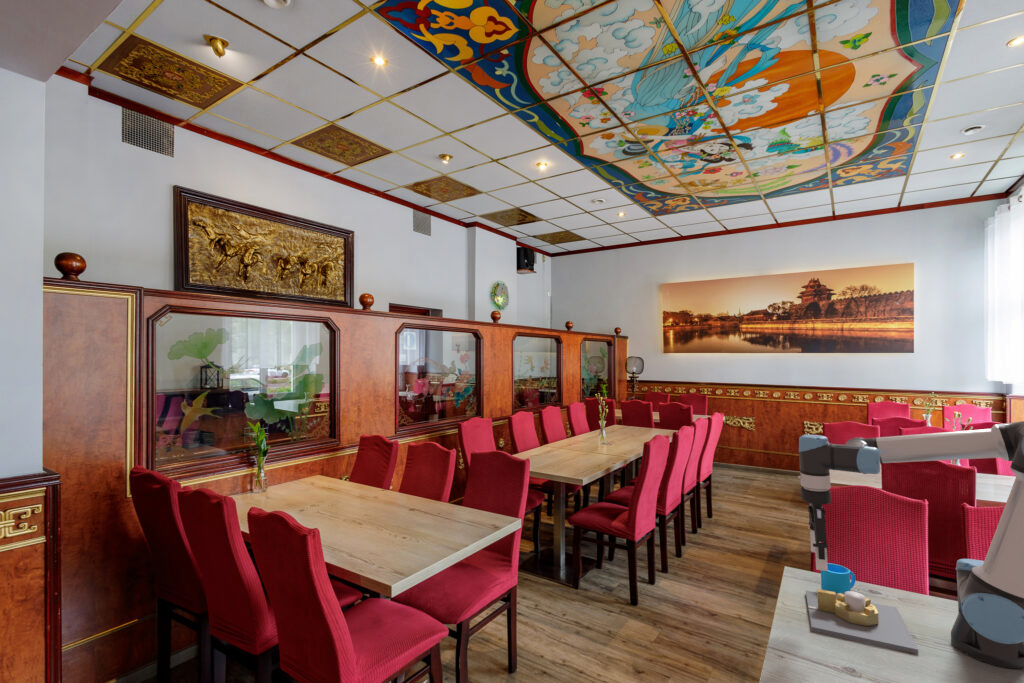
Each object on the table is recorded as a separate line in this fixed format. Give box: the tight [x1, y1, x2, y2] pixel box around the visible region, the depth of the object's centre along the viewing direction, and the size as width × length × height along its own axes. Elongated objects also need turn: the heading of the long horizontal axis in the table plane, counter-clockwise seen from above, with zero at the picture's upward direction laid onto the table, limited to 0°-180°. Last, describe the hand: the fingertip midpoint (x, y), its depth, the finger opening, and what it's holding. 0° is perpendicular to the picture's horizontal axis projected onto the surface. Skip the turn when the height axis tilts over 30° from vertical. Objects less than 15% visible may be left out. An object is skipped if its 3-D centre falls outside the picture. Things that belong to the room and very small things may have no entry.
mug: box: [820, 562, 857, 596], centre depth 160 cm, size 12×8×8 cm
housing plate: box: [805, 590, 919, 655], centre depth 143 cm, size 24×24×8 cm
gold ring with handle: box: [816, 588, 879, 626], centre depth 144 cm, size 15×10×6 cm
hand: (818, 560), depth 141 cm, fingers open, 13 cm apart
